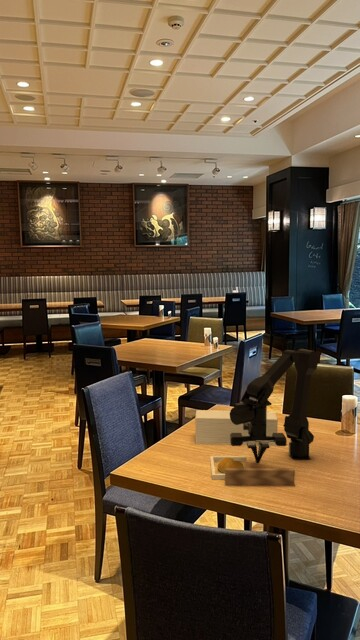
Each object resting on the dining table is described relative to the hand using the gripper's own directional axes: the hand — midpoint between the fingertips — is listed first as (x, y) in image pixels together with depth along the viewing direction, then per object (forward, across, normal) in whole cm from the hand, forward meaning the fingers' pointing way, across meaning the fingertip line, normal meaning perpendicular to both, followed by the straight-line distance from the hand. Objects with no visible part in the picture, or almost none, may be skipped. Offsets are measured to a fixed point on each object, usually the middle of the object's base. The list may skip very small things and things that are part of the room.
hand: (257, 463), depth 165 cm
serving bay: (+2, +9, 0) cm, 9 cm away
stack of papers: (+3, +5, -29) cm, 30 cm away
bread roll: (+3, +9, +1) cm, 10 cm away
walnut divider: (+2, +1, +12) cm, 12 cm away
